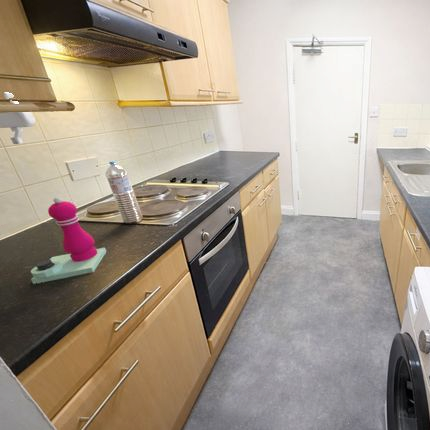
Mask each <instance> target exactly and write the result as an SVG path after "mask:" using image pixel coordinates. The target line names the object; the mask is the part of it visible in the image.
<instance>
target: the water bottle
mask: <svg viewBox="0 0 430 430" xmlns="http://www.w3.org/2000/svg"><path fill="white" fill-rule="evenodd" d="M109 165H110V166H109V167H108V168H107V169H106V171H105V173H104V174H105V178H106V179H107V182H108V184H109V187H110V190H111V193H112V195H113V198H114V201H115V204H116V206H117V208H118V211H119V214H120V216H121V219H122V222H123V223H124V224H126V225H133V223H134V224H137V223H139V222H141V221H142V220H143V219H144V216H143V214H142V210H141V208H140V205H139V202H138V199H137V196H136V193H135V191H134V188H133V185H132V183H131V180H130V178H129V174H128V173H129V172H128V171H127V170H126V168H124V167H122V166H121V165H118V164H117V162H116V161H115V160H111V161H109Z"/></svg>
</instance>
